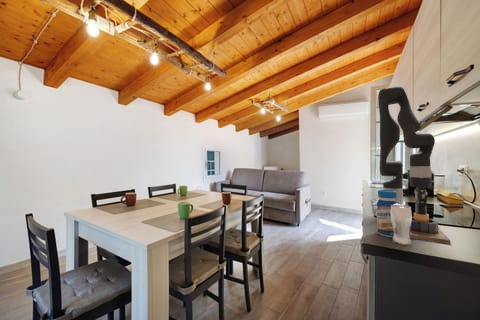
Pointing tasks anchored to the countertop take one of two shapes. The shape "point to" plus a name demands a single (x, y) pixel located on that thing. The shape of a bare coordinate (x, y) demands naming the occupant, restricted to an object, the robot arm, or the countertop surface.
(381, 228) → the blue and white bottle
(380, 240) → the countertop surface
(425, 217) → the orange rounded block
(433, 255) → the countertop surface
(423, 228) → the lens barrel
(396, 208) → the beer glass
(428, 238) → the wooden cutting board
